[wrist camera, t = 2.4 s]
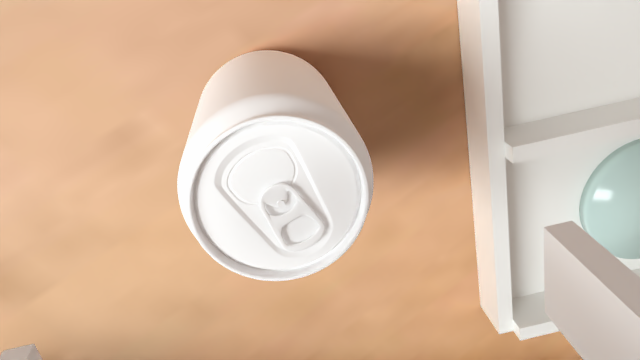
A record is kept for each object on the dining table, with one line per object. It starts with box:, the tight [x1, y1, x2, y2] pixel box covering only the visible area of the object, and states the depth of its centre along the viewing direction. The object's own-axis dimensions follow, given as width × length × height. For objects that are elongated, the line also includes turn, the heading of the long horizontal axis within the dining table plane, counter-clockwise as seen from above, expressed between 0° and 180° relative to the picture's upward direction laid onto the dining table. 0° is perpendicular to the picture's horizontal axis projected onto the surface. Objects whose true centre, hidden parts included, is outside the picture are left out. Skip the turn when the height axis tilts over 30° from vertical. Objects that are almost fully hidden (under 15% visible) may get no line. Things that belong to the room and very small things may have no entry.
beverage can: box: [177, 50, 374, 281], centre depth 26 cm, size 8×8×12 cm
